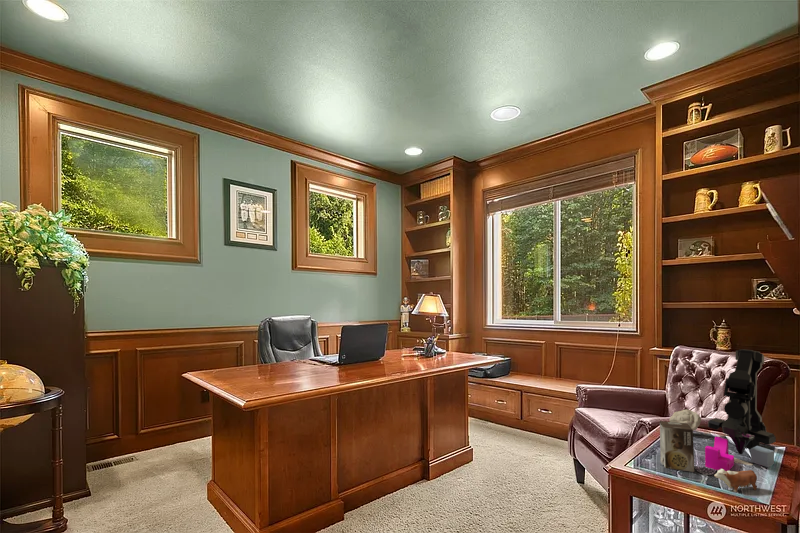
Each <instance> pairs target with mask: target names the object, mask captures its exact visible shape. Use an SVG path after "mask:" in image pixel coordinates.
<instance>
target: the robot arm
mask: <svg viewBox="0 0 800 533" xmlns="http://www.w3.org/2000/svg"><path fill="white" fill-rule="evenodd" d="M735 360H736V365H735V370H734V371H732V372H730V373H729V375H728V378H726V379H725V383H724V384H725V385H724V395H723V396H724V397H729V398H728V399H729V400H728V402H727V403H726V404H725V405H724V407H723V408H724V412H725V414H726V415H727V418H726V419H721V418H718V417H715V418H711V419H709V420H708V422H707V427H708V428H709V429H712V430H718V429H720V428H722V432H723V434H724V435H726V436H729V437H730V439H731V440H732V441H733V444H734V446H735V449H736V450H737V453H738V455H743V454H744V452H745V450H746V449H749V450H751V448H753V447H756V446H760V447H761V444H763V445H772V444H774V443H776V442H777V441H776V435H775V434H774V433H772V432H768V431H767V426H766V425H765V423H764V422H763V419H762V418H763V417H762V415H761V414H760V412H759V411H758V409H757V407H758V406H757V404H758V403H757V402H758V401H757V399H758V398H757V397H758V396H757V395H758V386H757V385H758V384H757V383H758V373H759V371H760V370H761V369H762V368H763V364H765V355H764V354H763V353H762V352H761V351H757V350H753V349H743V348H740V349H737V350H735Z"/></svg>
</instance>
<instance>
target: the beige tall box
mask: <svg viewBox="0 0 800 533" xmlns="http://www.w3.org/2000/svg"><path fill="white" fill-rule="evenodd" d="M659 438H660V439H659V444H660V445H659V449H660V451H659V452H660V463H661V465H662V466H663V465H664V466H663V467H664V468H665V469H669V468H670V469H669V470H671V469H672V470H677V471H685V472H692V473H693V472H695V460H694V459H695V456H694V451H695V450H694V449H695V448H694V431H693V429H692V428H691V427H690V426H689V425H688V424H687V423H678V422H670V421H666V420H665V421H664V420H659Z"/></svg>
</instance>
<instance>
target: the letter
mask: <svg viewBox="0 0 800 533" xmlns="http://www.w3.org/2000/svg"><path fill="white" fill-rule="evenodd" d="M734 464H739V465H745V466H754V464H753V463H752V462H748V461H746V460H743V459H742V460H741V459H739V458H737V457H734Z"/></svg>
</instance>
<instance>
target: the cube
mask: <svg viewBox="0 0 800 533" xmlns="http://www.w3.org/2000/svg"><path fill="white" fill-rule="evenodd" d="M750 463H752V464H753V463H754V464H756V465H759V466H763V467H766V468H770V467H771V466H774V465H775V451H774V450H773V449H770V448H766V447H762V446H761V445H760V446H756V447H753V448H751V449H750ZM773 464H774V465H773Z"/></svg>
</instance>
